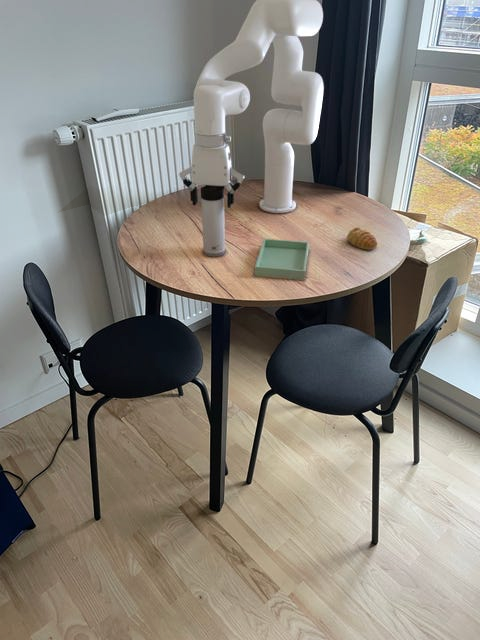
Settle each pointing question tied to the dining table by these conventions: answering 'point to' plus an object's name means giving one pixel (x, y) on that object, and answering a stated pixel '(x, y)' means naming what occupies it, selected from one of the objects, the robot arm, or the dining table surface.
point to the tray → (282, 259)
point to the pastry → (362, 239)
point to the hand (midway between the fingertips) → (212, 204)
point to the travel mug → (213, 220)
